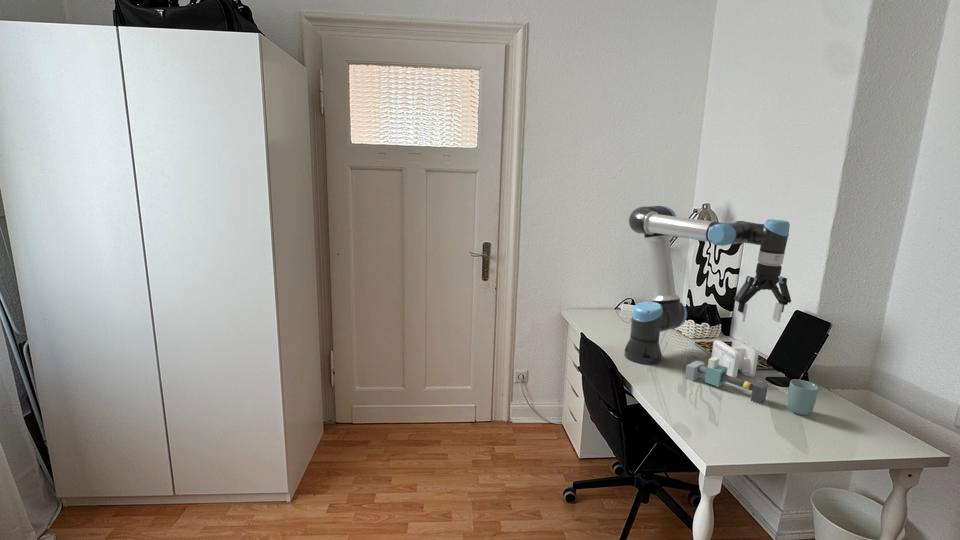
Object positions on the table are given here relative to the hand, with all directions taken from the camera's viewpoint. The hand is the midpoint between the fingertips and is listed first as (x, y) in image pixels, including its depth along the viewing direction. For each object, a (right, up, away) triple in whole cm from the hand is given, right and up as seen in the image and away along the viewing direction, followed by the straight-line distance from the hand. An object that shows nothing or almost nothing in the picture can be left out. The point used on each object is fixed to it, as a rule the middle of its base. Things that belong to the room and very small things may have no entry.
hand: (758, 320), depth 166 cm
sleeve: (-13, -25, +6) cm, 29 cm away
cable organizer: (0, -23, +17) cm, 29 cm away
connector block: (-3, -27, -5) cm, 28 cm away
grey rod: (-11, -23, +3) cm, 25 cm away
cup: (+6, -30, -12) cm, 33 cm away
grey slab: (-18, -23, +12) cm, 32 cm away
